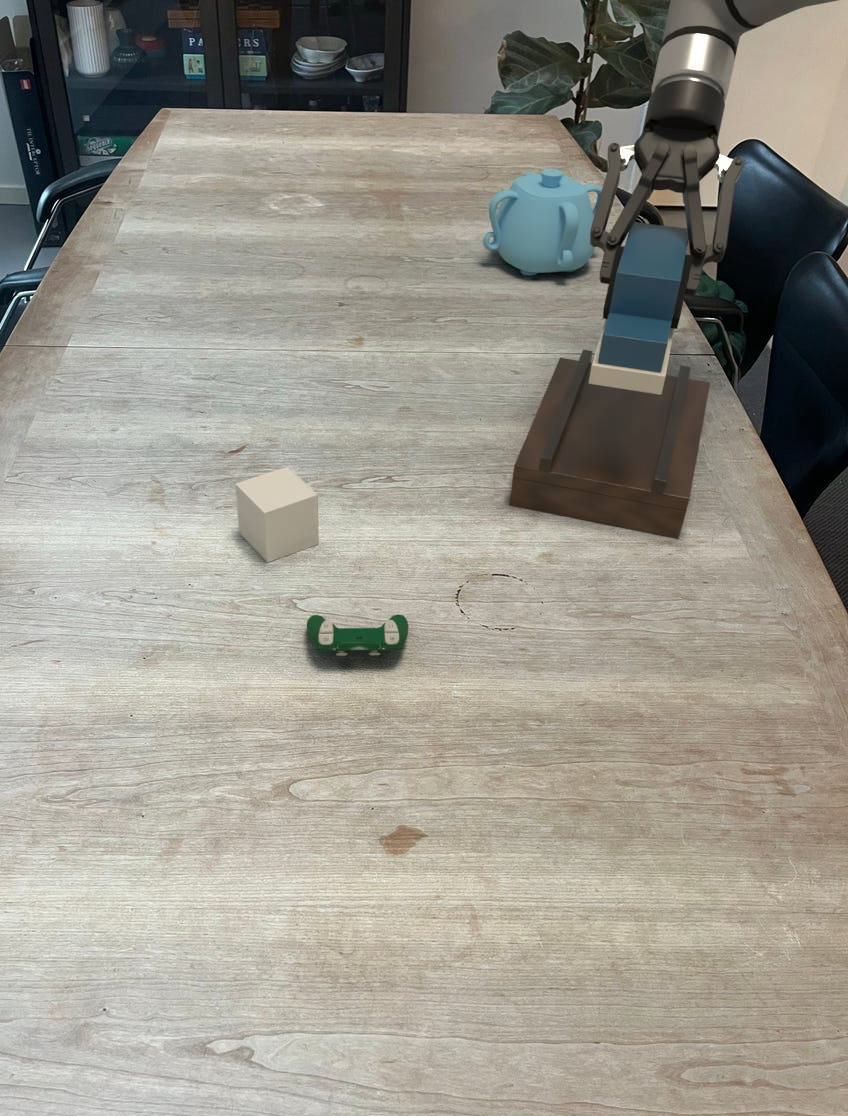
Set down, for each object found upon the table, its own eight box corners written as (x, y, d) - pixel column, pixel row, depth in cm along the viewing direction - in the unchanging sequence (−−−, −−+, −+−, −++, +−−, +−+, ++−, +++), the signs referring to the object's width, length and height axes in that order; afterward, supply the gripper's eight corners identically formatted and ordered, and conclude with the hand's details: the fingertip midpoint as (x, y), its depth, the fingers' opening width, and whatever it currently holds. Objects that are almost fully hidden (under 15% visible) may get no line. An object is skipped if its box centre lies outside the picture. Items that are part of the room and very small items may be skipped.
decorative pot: (467, 265, 160) (475, 173, 151) (520, 234, 170) (530, 146, 160) (560, 293, 153) (574, 198, 144) (610, 259, 162) (626, 168, 153)
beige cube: (267, 563, 103) (264, 513, 99) (239, 533, 107) (234, 483, 103) (319, 543, 105) (318, 494, 101) (289, 515, 109) (287, 466, 105)
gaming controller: (307, 656, 95) (305, 655, 89) (307, 615, 96) (305, 611, 90) (406, 655, 96) (412, 654, 90) (406, 614, 96) (411, 610, 90)
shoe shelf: (700, 419, 126) (713, 370, 121) (678, 538, 107) (693, 486, 103) (554, 394, 130) (561, 345, 125) (508, 505, 111) (515, 452, 107)
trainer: (612, 301, 115) (627, 219, 109) (676, 310, 113) (695, 227, 107) (588, 383, 100) (604, 294, 95) (661, 395, 99) (682, 304, 93)
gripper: (777, 129, 107) (732, 345, 106) (592, 110, 110) (547, 319, 110) (793, 85, 99) (744, 317, 98) (594, 66, 103) (545, 290, 102)
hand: (640, 318), depth 104 cm, fingers closed on trainer, 6 cm apart
